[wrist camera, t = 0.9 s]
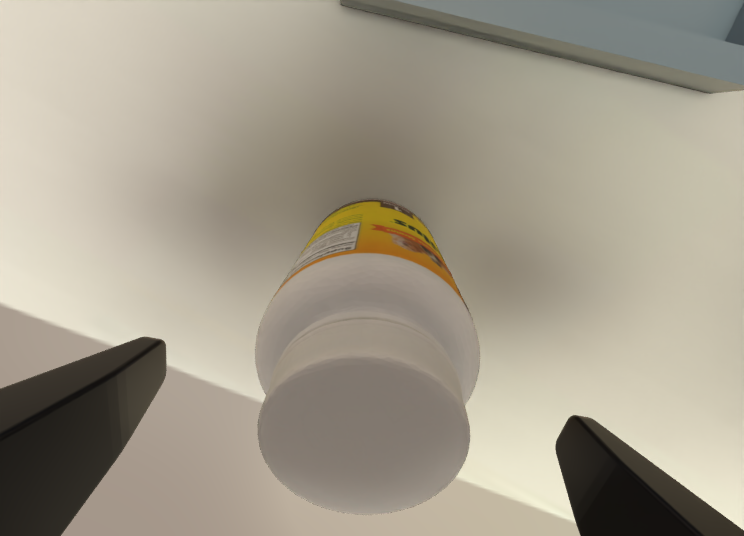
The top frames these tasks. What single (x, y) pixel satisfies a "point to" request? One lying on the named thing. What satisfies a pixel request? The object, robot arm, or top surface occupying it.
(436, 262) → the supplement bottle
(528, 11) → the tray
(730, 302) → the top surface
